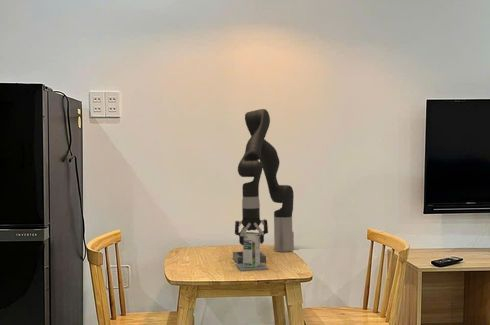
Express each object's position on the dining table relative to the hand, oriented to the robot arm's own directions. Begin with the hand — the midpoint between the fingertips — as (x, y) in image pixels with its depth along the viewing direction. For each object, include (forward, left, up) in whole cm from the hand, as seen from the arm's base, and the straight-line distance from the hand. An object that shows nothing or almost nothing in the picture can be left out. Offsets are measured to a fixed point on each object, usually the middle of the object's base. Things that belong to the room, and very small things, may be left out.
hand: (251, 244), depth 212 cm
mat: (0, 0, -10) cm, 10 cm away
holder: (-2, -14, -10) cm, 17 cm away
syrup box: (0, 0, -10) cm, 10 cm away
